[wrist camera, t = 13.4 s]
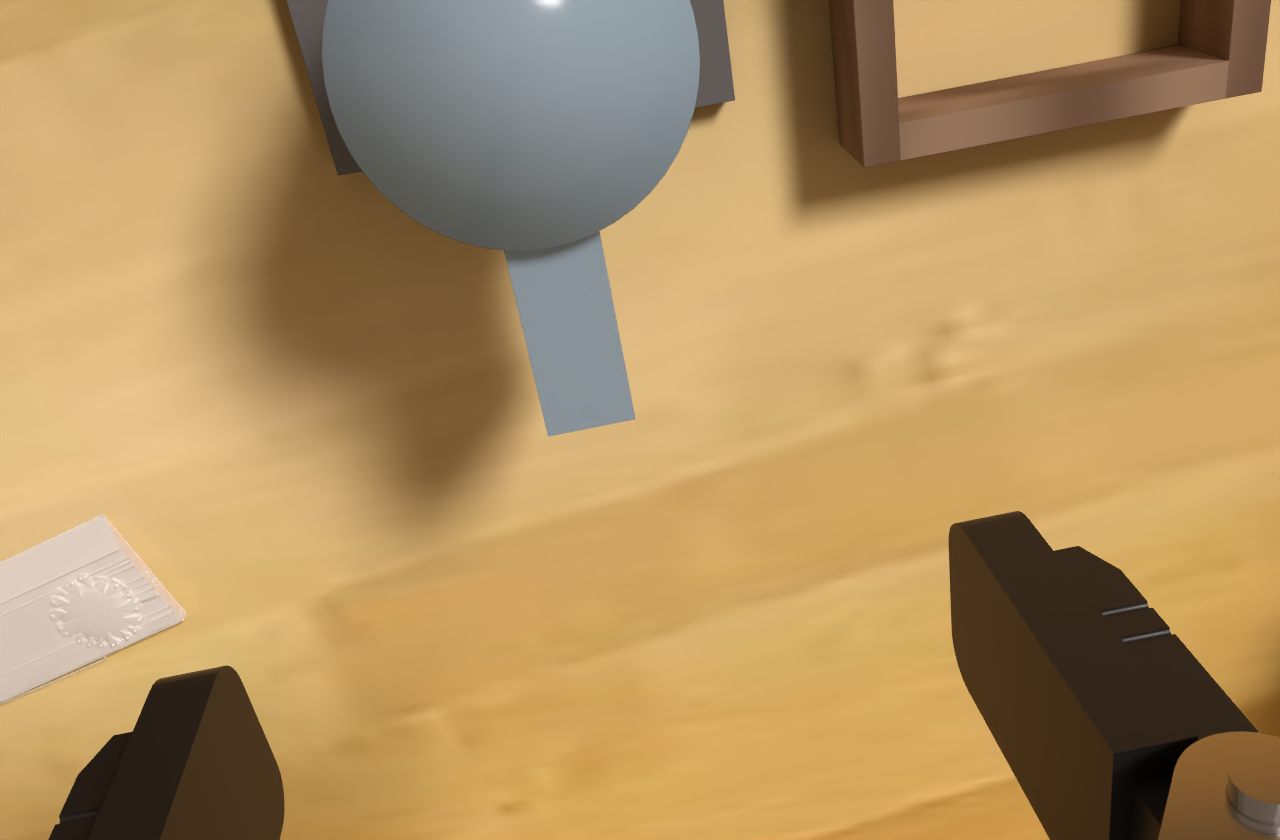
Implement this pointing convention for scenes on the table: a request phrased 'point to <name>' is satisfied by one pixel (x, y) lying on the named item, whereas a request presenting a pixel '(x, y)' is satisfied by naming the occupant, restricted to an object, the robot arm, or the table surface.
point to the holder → (1034, 83)
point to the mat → (308, 21)
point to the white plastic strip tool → (75, 605)
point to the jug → (523, 150)
